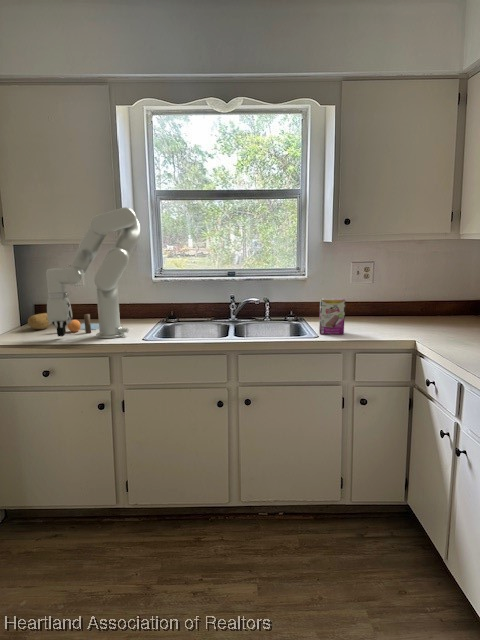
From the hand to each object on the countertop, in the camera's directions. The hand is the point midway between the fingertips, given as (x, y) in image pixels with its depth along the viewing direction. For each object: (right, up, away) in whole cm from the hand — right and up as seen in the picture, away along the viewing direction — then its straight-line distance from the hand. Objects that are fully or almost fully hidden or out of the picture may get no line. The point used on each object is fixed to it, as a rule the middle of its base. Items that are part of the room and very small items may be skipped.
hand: (61, 335), depth 199 cm
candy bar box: (+125, +1, +4) cm, 125 cm away
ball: (+1, +4, +14) cm, 15 cm away
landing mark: (+3, +4, +27) cm, 27 cm away
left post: (-5, +1, +14) cm, 15 cm away
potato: (-19, +2, +23) cm, 30 cm away
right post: (+8, +1, +12) cm, 15 cm away
